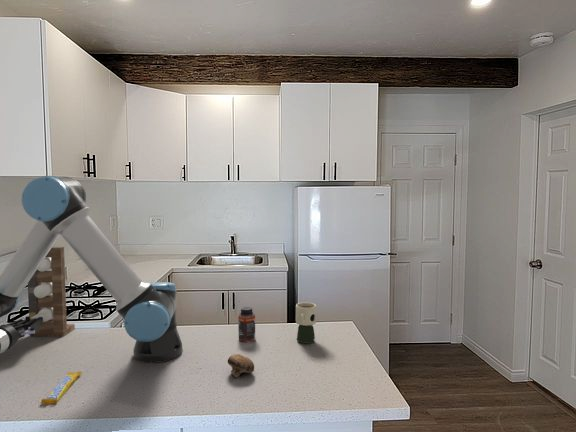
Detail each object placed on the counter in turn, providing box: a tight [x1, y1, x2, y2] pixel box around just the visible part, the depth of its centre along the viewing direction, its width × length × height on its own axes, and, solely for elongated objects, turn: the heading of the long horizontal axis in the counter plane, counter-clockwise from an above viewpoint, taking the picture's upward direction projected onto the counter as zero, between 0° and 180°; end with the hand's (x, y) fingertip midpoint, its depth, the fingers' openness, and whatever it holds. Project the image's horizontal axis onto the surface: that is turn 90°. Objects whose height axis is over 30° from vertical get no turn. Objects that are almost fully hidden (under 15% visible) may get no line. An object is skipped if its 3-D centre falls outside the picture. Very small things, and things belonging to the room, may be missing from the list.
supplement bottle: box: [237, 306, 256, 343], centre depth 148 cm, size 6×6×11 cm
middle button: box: [34, 283, 52, 298], centre depth 150 cm, size 6×4×4 cm
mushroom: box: [227, 353, 255, 379], centre depth 121 cm, size 8×8×6 cm
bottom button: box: [38, 308, 53, 322], centre depth 152 cm, size 6×4×4 cm
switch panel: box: [27, 246, 76, 338], centre depth 153 cm, size 9×12×32 cm
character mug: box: [295, 301, 317, 344], centre depth 147 cm, size 11×7×13 cm, turn 162°
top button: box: [38, 257, 52, 272], centre depth 151 cm, size 6×4×4 cm
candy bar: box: [40, 371, 83, 406], centre depth 112 cm, size 17×4×2 cm, turn 6°
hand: (43, 315), depth 149 cm, fingers closed
